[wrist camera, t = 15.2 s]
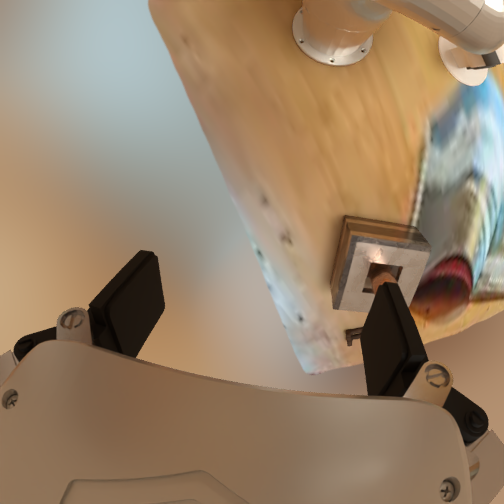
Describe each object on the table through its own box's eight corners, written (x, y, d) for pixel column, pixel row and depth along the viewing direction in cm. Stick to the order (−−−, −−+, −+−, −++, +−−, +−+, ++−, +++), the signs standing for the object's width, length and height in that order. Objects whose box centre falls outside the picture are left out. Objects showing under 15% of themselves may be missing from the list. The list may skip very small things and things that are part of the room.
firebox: (344, 215, 46) (351, 234, 39) (415, 226, 44) (431, 247, 37) (330, 282, 53) (333, 309, 46) (394, 289, 51) (404, 315, 44)
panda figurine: (453, 92, 31) (504, 93, 18) (424, 33, 27) (467, 12, 14) (494, 80, 27) (545, 81, 14) (469, 25, 23) (514, 10, 10)
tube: (365, 244, 48) (387, 303, 33) (385, 247, 47) (413, 305, 32) (360, 263, 50) (377, 325, 35) (379, 266, 49) (402, 327, 34)
